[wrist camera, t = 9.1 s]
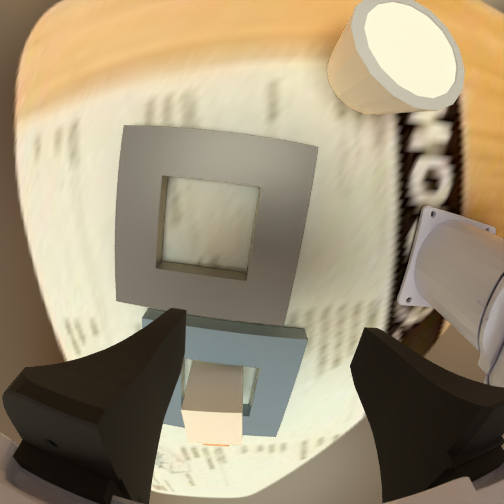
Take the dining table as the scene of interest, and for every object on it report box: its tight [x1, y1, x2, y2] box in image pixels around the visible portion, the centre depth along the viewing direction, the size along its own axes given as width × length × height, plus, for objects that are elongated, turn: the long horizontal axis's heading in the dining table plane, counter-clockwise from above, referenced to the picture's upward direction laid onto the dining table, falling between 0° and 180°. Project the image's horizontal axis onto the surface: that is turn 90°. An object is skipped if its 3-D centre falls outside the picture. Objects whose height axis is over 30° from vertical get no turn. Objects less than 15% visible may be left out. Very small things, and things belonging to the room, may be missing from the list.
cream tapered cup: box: [327, 0, 465, 115], centre depth 13 cm, size 7×7×7 cm
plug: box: [181, 360, 243, 446], centre depth 20 cm, size 4×5×6 cm
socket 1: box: [115, 125, 318, 326], centre depth 18 cm, size 12×12×2 cm
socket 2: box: [142, 308, 308, 437], centre depth 22 cm, size 12×12×2 cm
